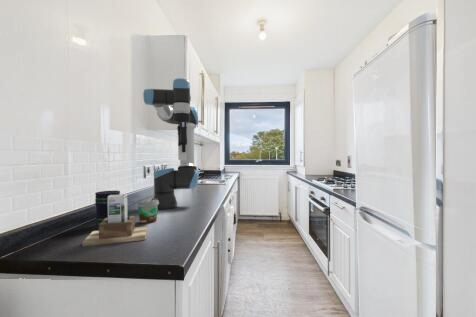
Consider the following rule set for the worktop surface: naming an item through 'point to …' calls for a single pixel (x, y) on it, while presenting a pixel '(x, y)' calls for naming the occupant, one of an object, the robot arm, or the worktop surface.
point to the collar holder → (116, 233)
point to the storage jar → (102, 205)
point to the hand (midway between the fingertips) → (182, 160)
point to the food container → (148, 211)
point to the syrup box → (117, 208)
